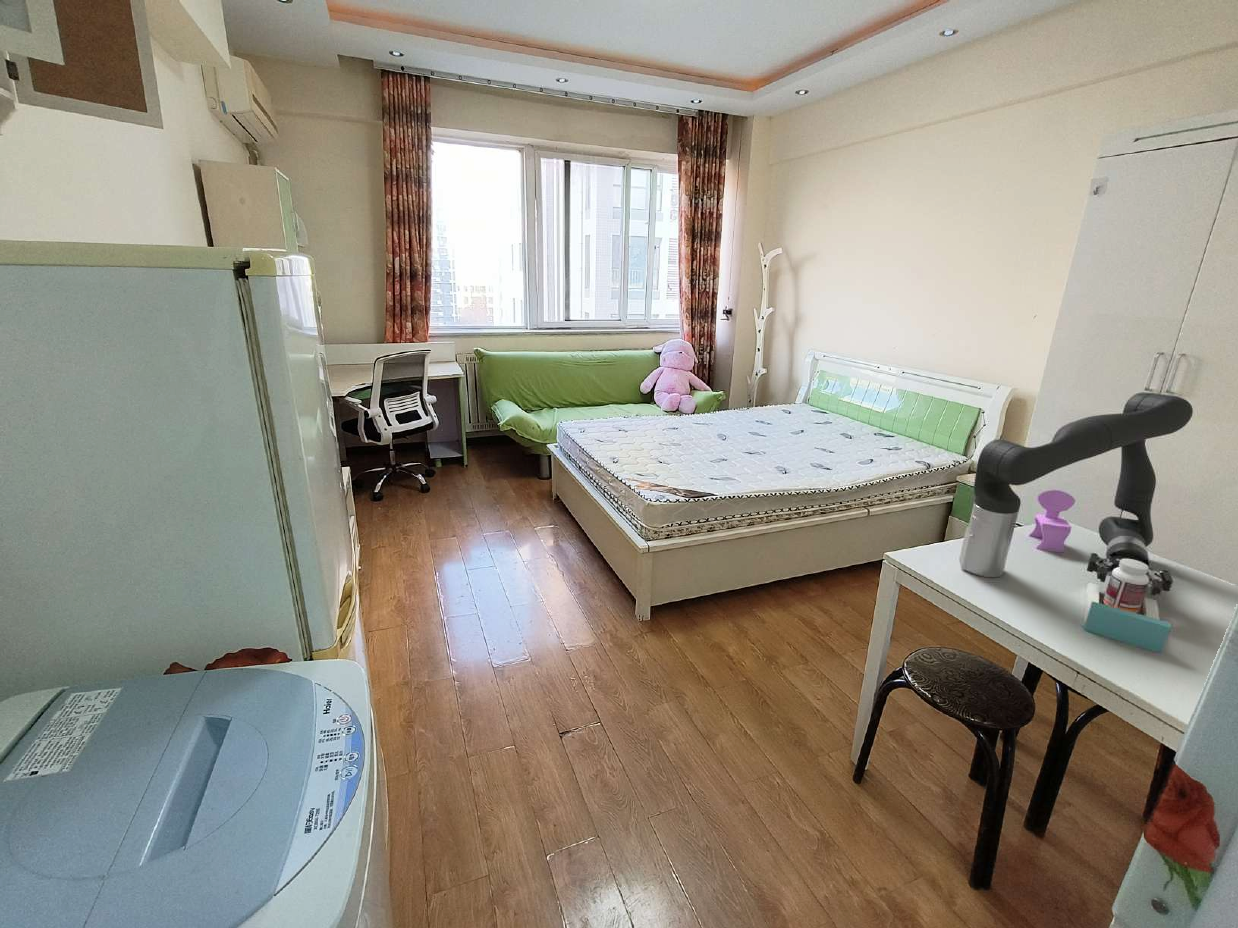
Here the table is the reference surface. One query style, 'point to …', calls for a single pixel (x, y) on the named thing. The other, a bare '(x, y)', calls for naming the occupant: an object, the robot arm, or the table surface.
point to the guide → (1125, 622)
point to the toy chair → (1053, 520)
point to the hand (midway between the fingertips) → (1128, 584)
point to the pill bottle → (1127, 585)
